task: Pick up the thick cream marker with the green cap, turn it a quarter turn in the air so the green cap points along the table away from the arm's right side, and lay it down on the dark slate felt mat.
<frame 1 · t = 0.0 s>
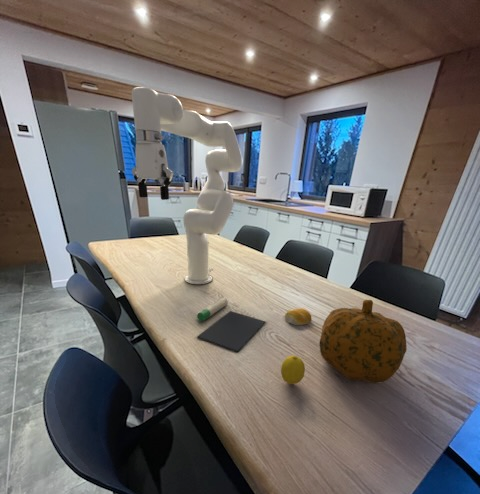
hand: (154, 198, 89), 37 cm above the table, tool pointing down, fingers open, 9 cm apart
decorative pumpkin: (353, 367, 71), on the table
bread roll: (297, 320, 94), on the table
marker: (215, 310, 97), on the table
felt mat: (233, 329, 86), on the table
lemon: (290, 383, 65), on the table
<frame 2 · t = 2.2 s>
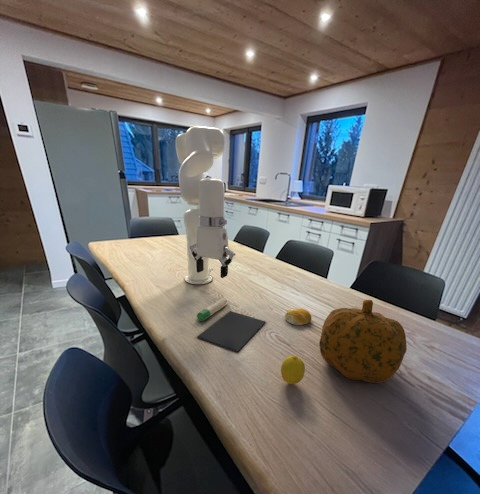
hand: (211, 274, 90), 14 cm above the table, tool pointing down, fingers open, 9 cm apart
nothing on the table moved.
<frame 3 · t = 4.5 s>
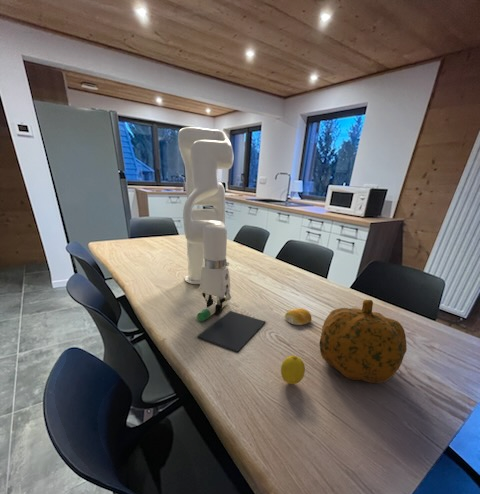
hand: (214, 311, 96), 0 cm above the table, tool pointing down, fingers closed on marker, 3 cm apart
marker: (215, 310, 97), on the table, touching gripper
everything else where it was.
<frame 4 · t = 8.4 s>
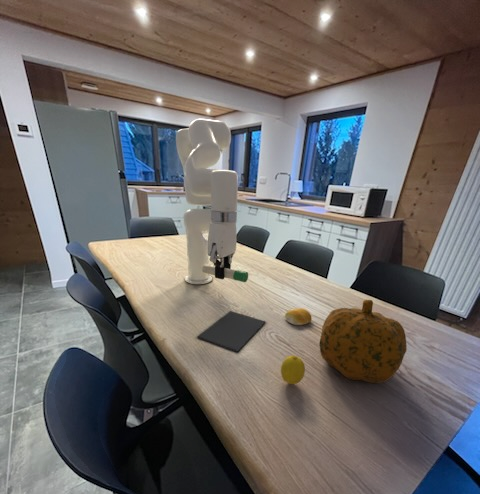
hand: (222, 276, 85), 16 cm above the table, tool pointing down, fingers closed on marker, 3 cm apart
marker: (220, 276, 85), point 15 cm above the table, touching gripper
everything else where it was.
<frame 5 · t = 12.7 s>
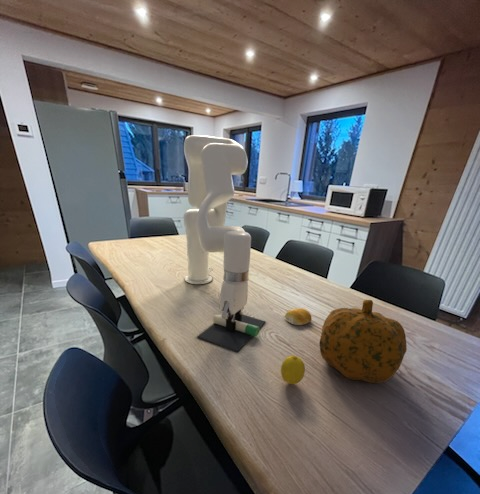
hand: (233, 328, 85), 1 cm above the table, tool pointing down, fingers closed on marker, 3 cm apart
marker: (231, 327, 86), resting on felt mat, touching gripper
everything else where it was.
when the fingers open (1 cm above the table, at t = 12.7 s): marker moves 2 cm and tips over, resting on felt mat.
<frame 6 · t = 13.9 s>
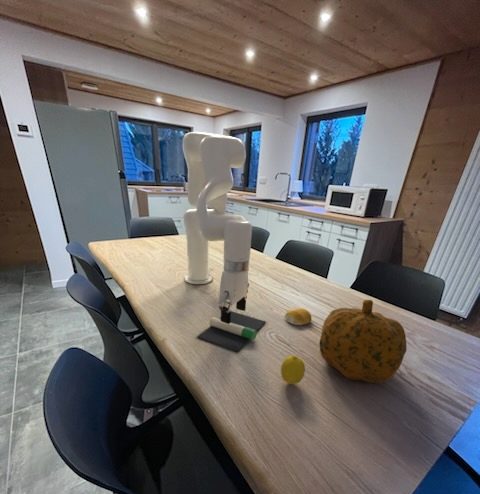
hand: (233, 315, 84), 5 cm above the table, tool pointing down, fingers open, 9 cm apart
marker: (230, 325, 85), point 2 cm above the table, tilted 82°, touching felt mat
everything else where it was.
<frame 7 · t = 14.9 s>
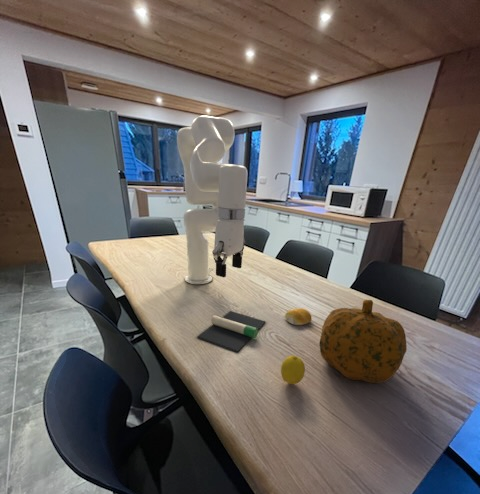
hand: (229, 271, 82), 18 cm above the table, tool pointing down, fingers open, 9 cm apart
marker: (230, 327, 86), point 1 cm above the table, tilted 36°, touching felt mat
everything else where it was.
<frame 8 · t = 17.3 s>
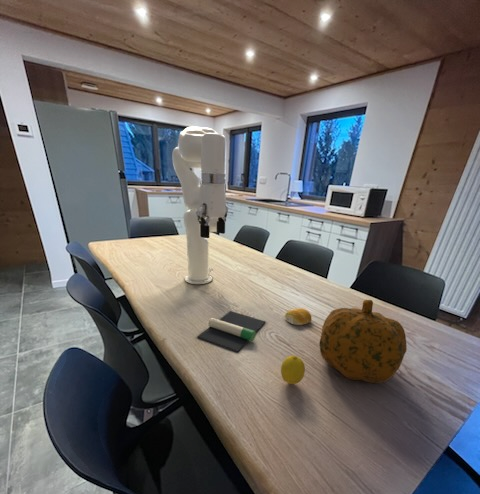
hand: (213, 235, 90), 26 cm above the table, tool pointing down, fingers open, 9 cm apart
marker: (229, 324, 84), point 2 cm above the table, tilted 102°, touching felt mat
everything else where it was.
at the end: marker inside the target area (1.3 cm from its centre), point 2.4 cm above the table; marker touching felt mat; marker moved 14.7 cm from its start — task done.
